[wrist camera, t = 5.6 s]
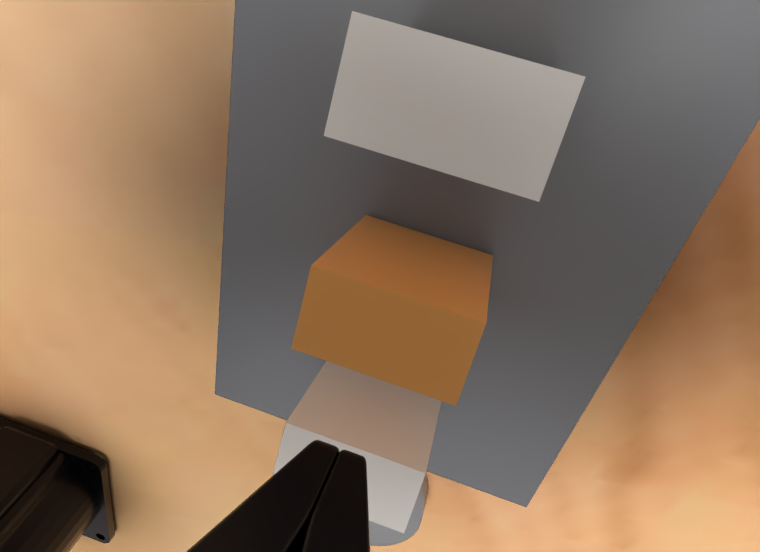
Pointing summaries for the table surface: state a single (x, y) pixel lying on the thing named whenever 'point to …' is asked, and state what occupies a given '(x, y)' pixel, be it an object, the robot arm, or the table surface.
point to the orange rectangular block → (397, 307)
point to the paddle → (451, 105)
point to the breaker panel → (485, 202)
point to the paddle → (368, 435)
